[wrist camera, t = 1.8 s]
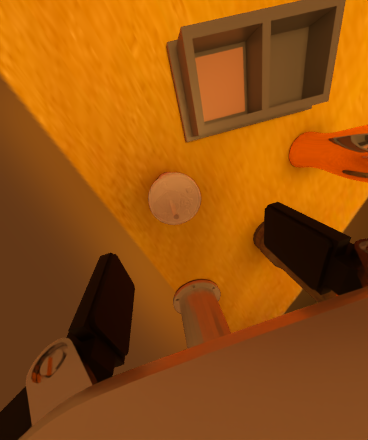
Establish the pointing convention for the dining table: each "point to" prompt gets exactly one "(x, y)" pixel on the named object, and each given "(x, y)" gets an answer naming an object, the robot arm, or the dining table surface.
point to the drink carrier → (254, 65)
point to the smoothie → (174, 198)
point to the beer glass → (334, 152)
